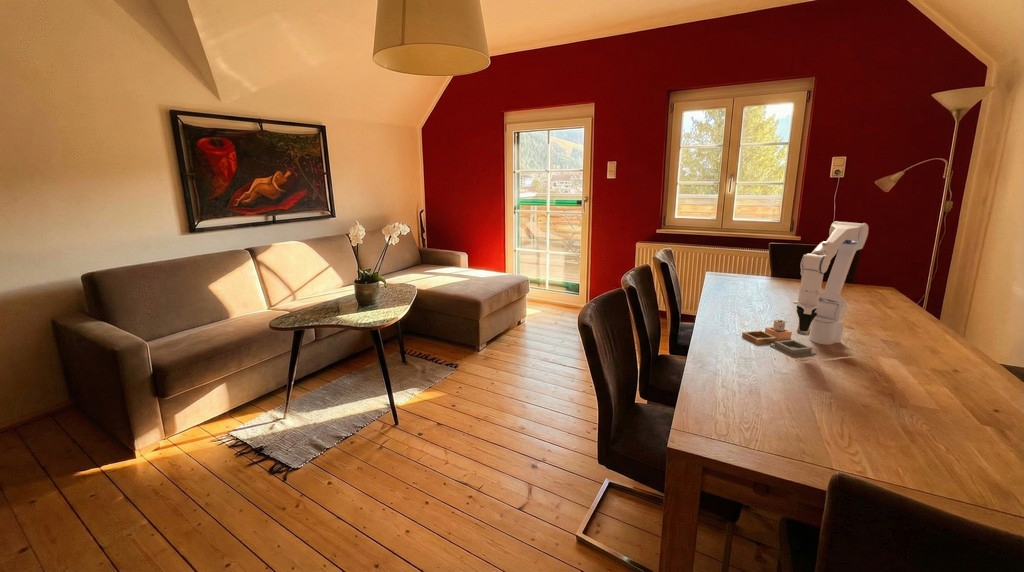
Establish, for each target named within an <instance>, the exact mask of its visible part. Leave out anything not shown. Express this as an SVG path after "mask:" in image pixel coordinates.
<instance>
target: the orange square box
mask: <svg viewBox="0 0 1024 572" xmlns="http://www.w3.org/2000/svg"><path fill="white" fill-rule="evenodd" d="M764 332H765V333H768V334H770V335H772V336H774V337H776V338H777V340H776V341H785V340H792V335H793V334H792V333H793V331H790V330H788V329H786V328H785V329H784V332H776V331H774V330H773V326H769V327H765V330H764Z"/></svg>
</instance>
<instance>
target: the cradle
mask: <svg viewBox="0 0 1024 572" xmlns="http://www.w3.org/2000/svg"><path fill="white" fill-rule="evenodd" d="M769 347H770V348H773V350H774V349H775V350H777V351H779V352H780V353H783V354H785V355H787V356H789V357H791V358H796V357H806V356H815V355H817V353H816V352H814V351H812V350H813V347H810V346H809V345H806V344H804V343H802V342H799V341H797V340H794V339H786V340H776V342H775V343H770V345H769Z"/></svg>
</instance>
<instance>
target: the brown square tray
mask: <svg viewBox="0 0 1024 572" xmlns="http://www.w3.org/2000/svg"><path fill="white" fill-rule="evenodd" d="M741 337H742V338H743V339H745V340H747V341H749V342H751V343H753V344H755V345H764V344H775V342H777V341H778V340H777V338H776V337H774V336H772V335H770V334H768V333H765V331H763V330H751V331H743V332H742V334H741Z"/></svg>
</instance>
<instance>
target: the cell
mask: <svg viewBox="0 0 1024 572" xmlns="http://www.w3.org/2000/svg"><path fill="white" fill-rule="evenodd" d="M812 321H813V320H812ZM797 325H798V326H797V330H796V334H797V335H800V336H807V337H808V336H809V335H810V330H811V325H812V322H811V324H810V326H809V329H808V331H807V332H806V331H800V329H799V323H798V324H797Z"/></svg>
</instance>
